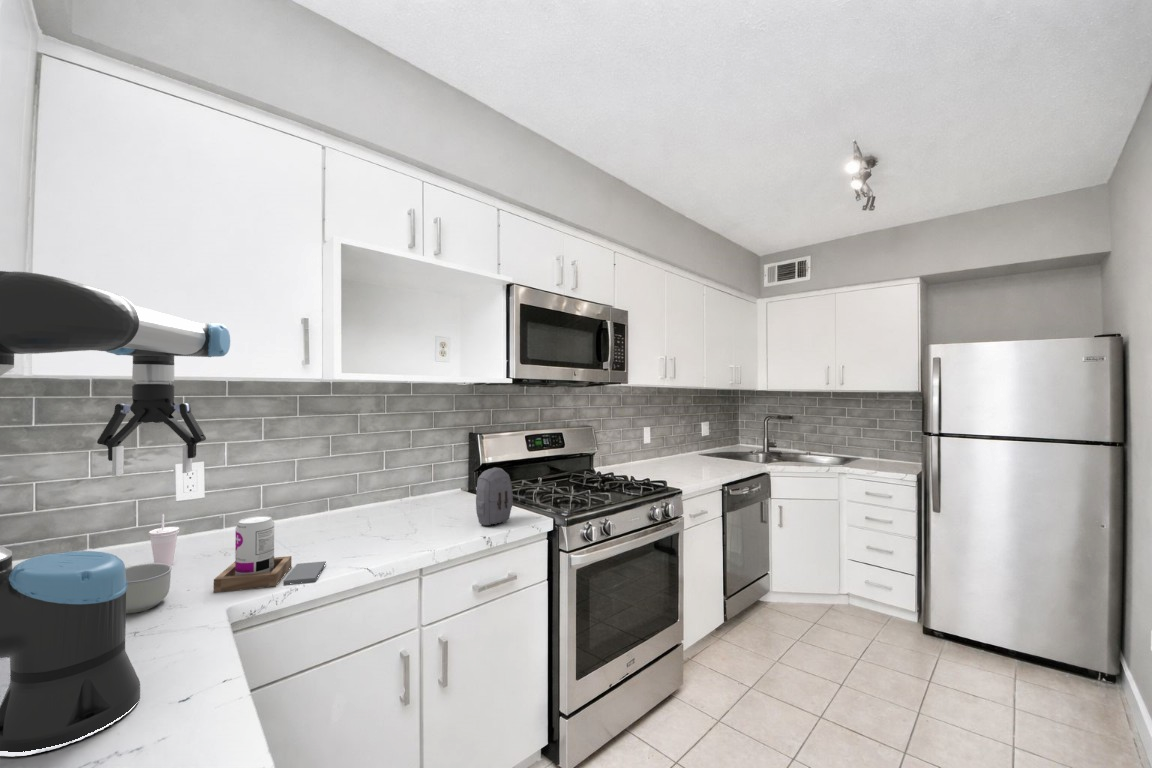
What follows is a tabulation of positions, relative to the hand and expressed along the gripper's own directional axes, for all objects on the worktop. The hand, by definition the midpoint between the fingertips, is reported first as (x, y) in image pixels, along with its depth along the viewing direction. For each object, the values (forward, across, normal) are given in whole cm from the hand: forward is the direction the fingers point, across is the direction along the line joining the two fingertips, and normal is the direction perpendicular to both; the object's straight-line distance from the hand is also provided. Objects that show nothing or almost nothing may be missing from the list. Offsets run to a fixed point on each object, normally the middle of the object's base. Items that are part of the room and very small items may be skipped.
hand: (153, 473), depth 115 cm
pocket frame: (+28, -20, -3) cm, 35 cm away
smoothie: (+28, +7, -20) cm, 35 cm away
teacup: (+28, 0, +9) cm, 30 cm away
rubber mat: (+28, -32, -3) cm, 42 cm away
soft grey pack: (+28, -84, -37) cm, 96 cm away
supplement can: (+28, -20, -3) cm, 35 cm away
